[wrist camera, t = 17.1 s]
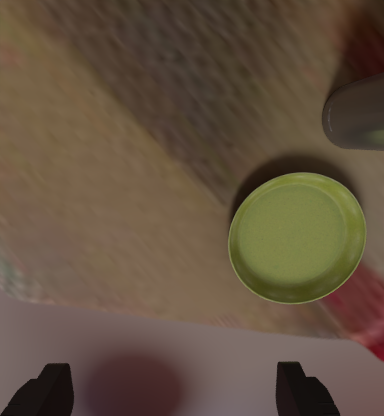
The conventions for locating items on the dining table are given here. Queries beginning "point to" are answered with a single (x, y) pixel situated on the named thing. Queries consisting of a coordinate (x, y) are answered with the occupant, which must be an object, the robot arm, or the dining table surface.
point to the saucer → (297, 238)
